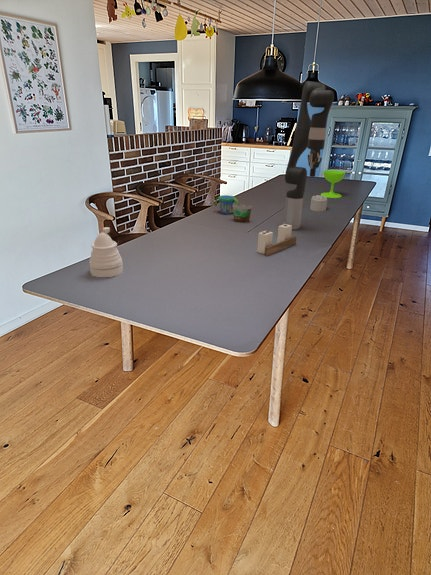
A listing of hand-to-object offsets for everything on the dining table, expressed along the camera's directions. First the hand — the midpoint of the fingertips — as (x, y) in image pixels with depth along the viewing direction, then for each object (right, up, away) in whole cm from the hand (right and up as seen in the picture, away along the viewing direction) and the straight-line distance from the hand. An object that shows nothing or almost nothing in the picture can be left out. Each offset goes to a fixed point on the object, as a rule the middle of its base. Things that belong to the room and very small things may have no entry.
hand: (312, 176), depth 187 cm
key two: (-24, -37, -7) cm, 45 cm away
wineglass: (+43, +18, +114) cm, 123 cm away
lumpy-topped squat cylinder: (+22, -1, +74) cm, 78 cm away
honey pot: (-91, -48, -29) cm, 107 cm away
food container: (-32, -14, +43) cm, 56 cm away
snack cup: (-40, -6, +61) cm, 73 cm away
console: (-21, -35, 0) cm, 41 cm away
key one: (-13, -32, +3) cm, 35 cm away
